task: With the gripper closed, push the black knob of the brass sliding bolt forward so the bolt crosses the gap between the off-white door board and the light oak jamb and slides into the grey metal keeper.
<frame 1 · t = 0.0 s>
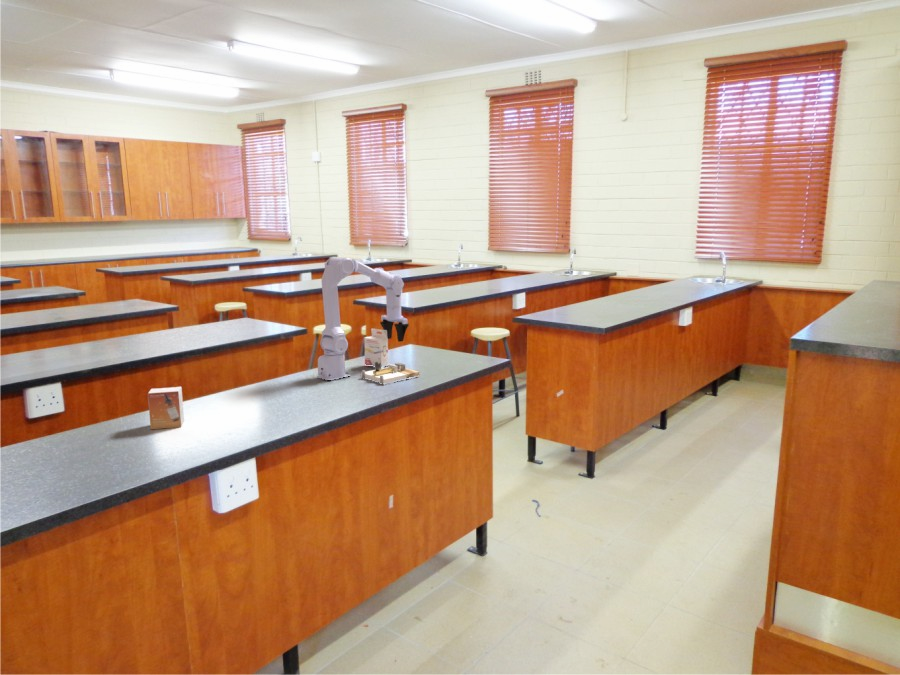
hand: (394, 340, 239), 10 cm above the countertop, tool pointing down, fingers open, 7 cm apart
door jamb: (401, 374, 225), on the countertop
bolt: (383, 367, 218), point 4 cm above the countertop, slide at 0.0 cm
ink cartridge box: (376, 366, 239), on the countertop
small box: (168, 426, 169), on the countertop
door board: (383, 378, 219), on the countertop
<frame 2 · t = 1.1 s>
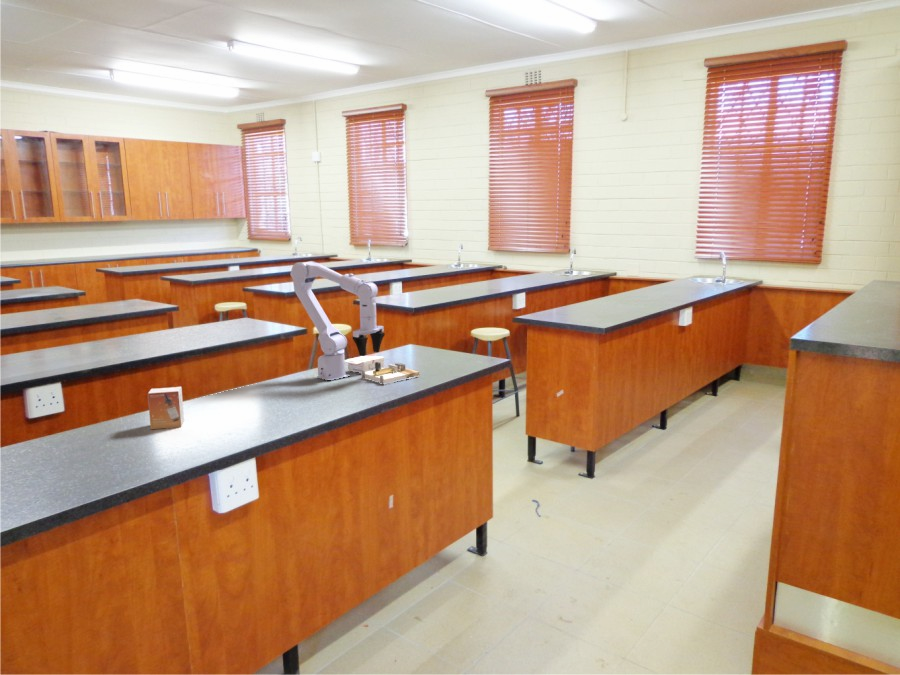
hand: (369, 353, 217), 10 cm above the countertop, tool pointing down, fingers open, 7 cm apart
ink cartridge box: (377, 361, 237), point 2 cm above the countertop
everything else where it was.
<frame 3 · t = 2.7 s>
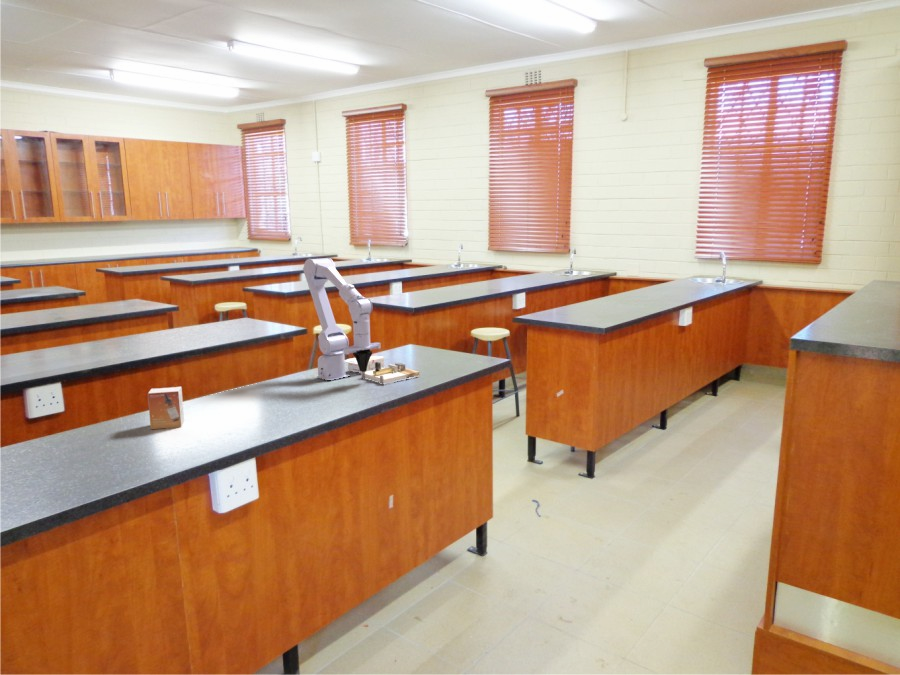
hand: (363, 371, 212), 4 cm above the countertop, tool pointing down, fingers closed
nothing on the countertop moved.
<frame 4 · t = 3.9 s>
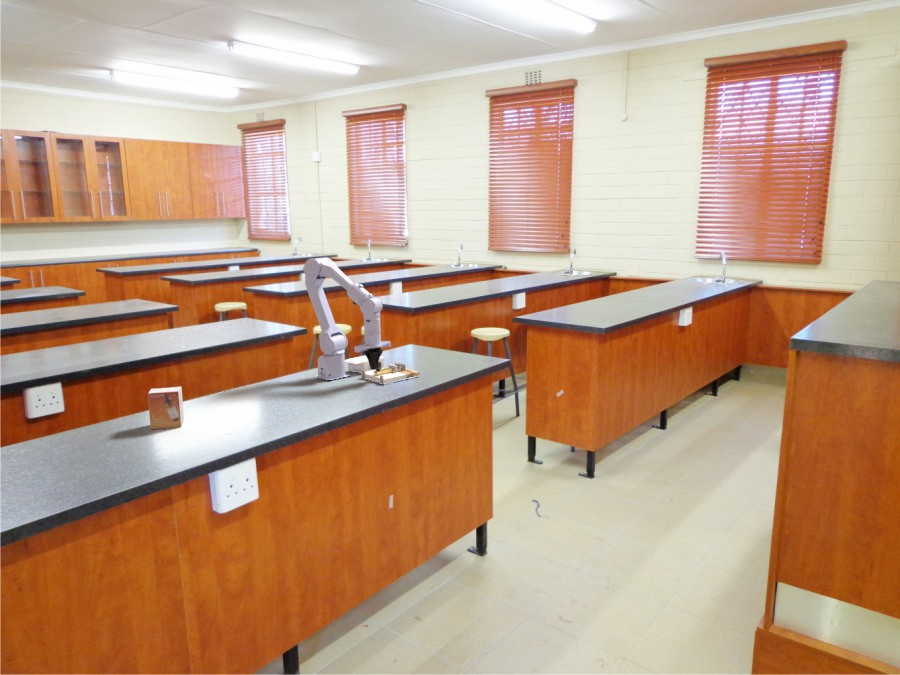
hand: (373, 369, 215), 4 cm above the countertop, tool pointing down, fingers closed
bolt: (384, 367, 218), point 4 cm above the countertop, slide at 0.3 cm, touching gripper
everything else where it was.
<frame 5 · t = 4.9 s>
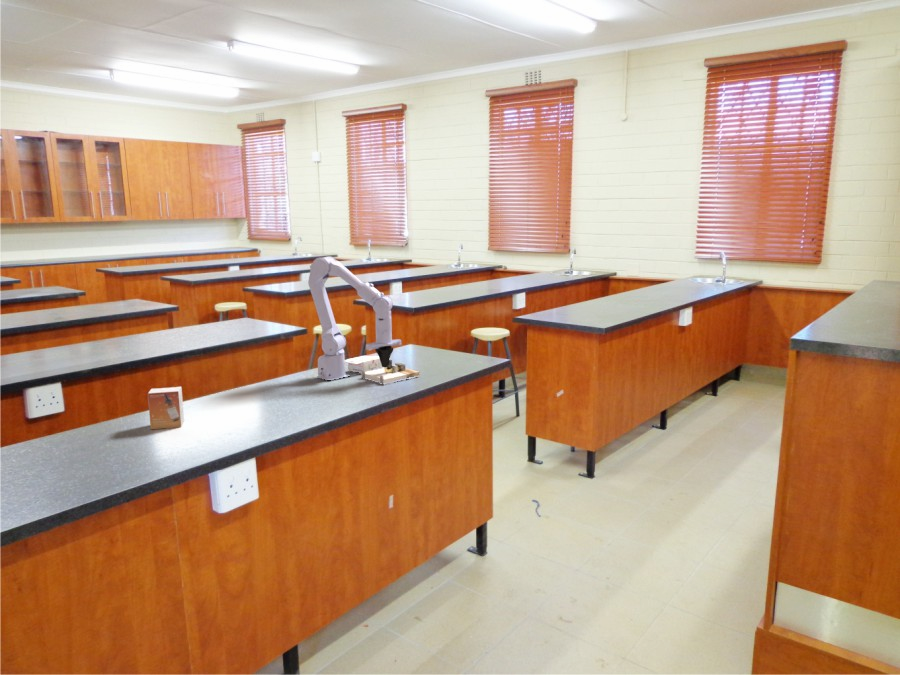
hand: (384, 366, 219), 4 cm above the countertop, tool pointing down, fingers closed
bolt: (394, 364, 222), point 4 cm above the countertop, slide at 5.1 cm, touching gripper
everything else where it was.
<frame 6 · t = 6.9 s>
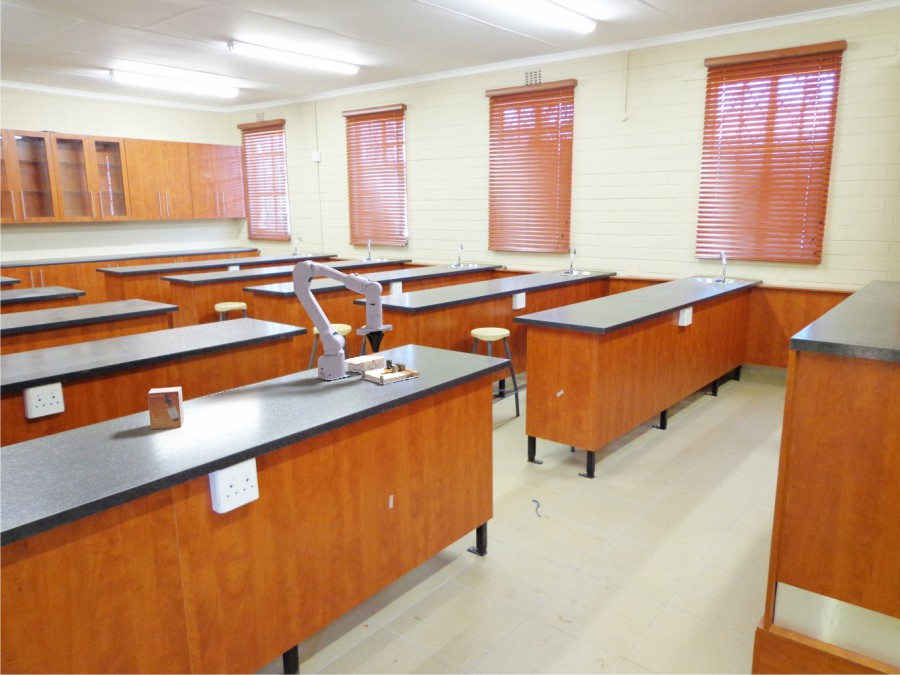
hand: (375, 351, 220), 9 cm above the countertop, tool pointing down, fingers closed
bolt: (394, 364, 222), point 4 cm above the countertop, slide at 5.0 cm
everything else where it was.
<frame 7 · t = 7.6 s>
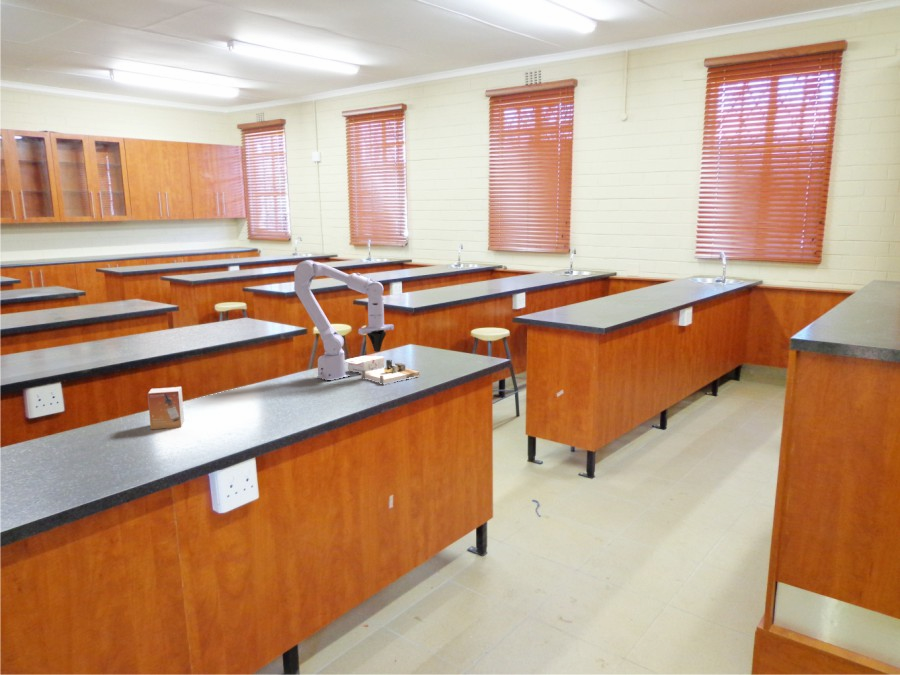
hand: (377, 351, 222), 9 cm above the countertop, tool pointing down, fingers closed
nothing on the countertop moved.
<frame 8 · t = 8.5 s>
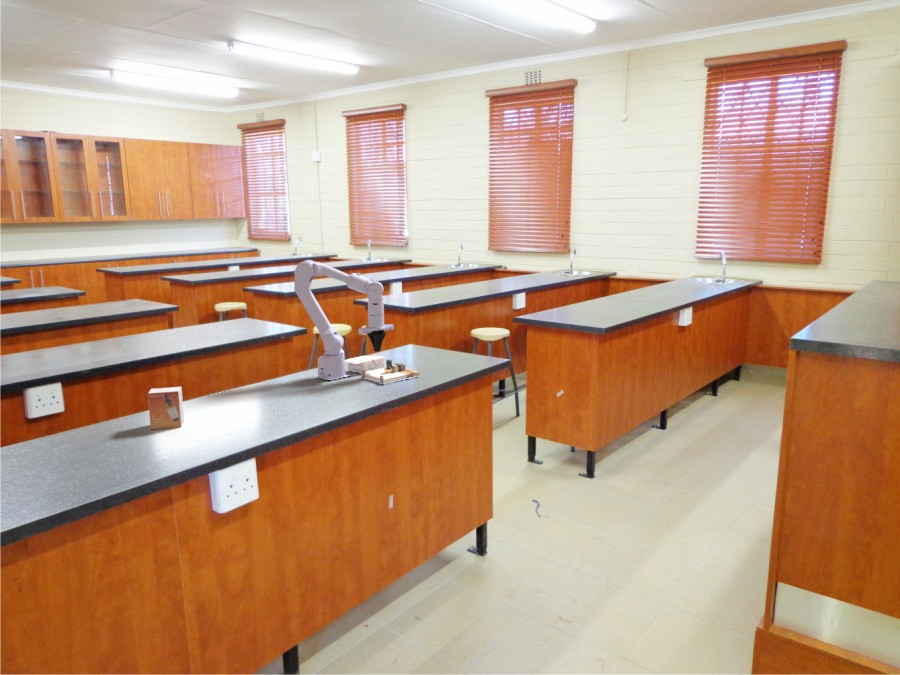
hand: (377, 351, 222), 9 cm above the countertop, tool pointing down, fingers closed
nothing on the countertop moved.
at the end: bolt slide at 5.0 cm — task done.
